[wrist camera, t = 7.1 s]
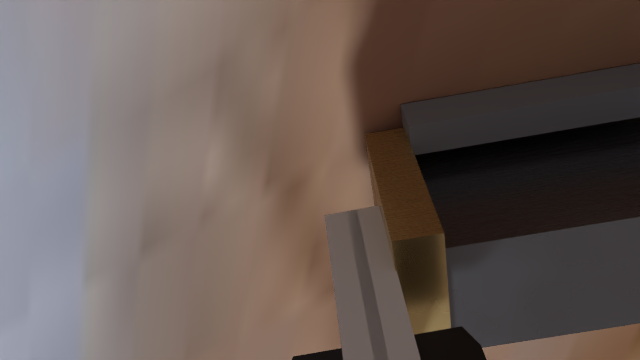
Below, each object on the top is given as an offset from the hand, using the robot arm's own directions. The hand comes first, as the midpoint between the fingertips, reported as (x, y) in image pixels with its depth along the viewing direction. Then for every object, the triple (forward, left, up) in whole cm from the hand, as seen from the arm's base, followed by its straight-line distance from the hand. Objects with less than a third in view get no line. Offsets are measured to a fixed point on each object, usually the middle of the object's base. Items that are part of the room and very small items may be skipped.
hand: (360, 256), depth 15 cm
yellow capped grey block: (+4, 0, -2) cm, 5 cm away
